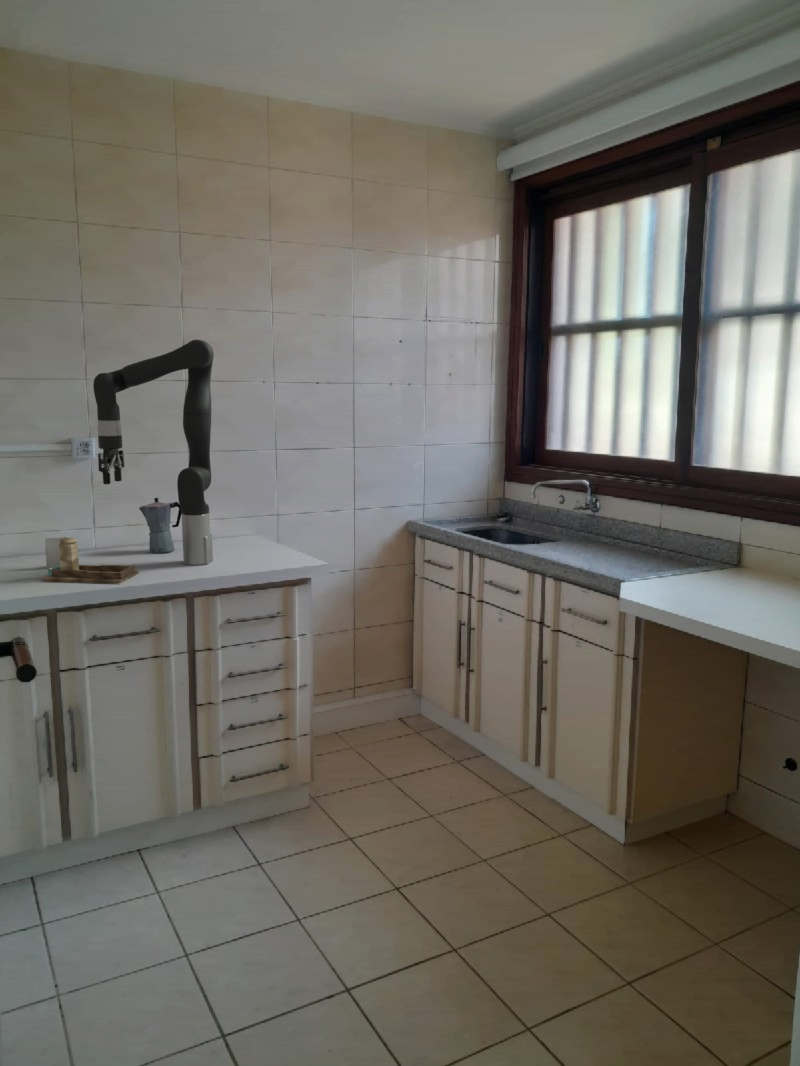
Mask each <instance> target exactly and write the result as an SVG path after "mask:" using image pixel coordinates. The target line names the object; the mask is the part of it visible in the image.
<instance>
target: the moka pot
mask: <svg viewBox="0 0 800 1066" xmlns="http://www.w3.org/2000/svg"><path fill="white" fill-rule="evenodd" d="M153 500H154V502H152V503H148V504H145V505H141V506H140V507H138V510H139V511H140V512H141V513H142V515H143V516H144V518H145V521H146V524H147V527H148V528H149V529H148V531H149V533H148V535H149V548H148V549H149V553H151V554H164V553H171V552H173V551H174V550H175V544H174V540H173V536H172V533H171V527H172V528H177V527H179V526H180V522H181V519H182V512H181V508H180V505H179V501H175V502H168V503H165V502H160V501H159V498H158V497H153ZM175 508H178V513H177V518H176V522H175V524H172V525H171V510H172V509H175Z"/></svg>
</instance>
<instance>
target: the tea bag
mask: <svg viewBox="0 0 800 1066" xmlns="http://www.w3.org/2000/svg"><path fill="white" fill-rule="evenodd" d="M63 538H68V537H67V536H63V537H62V536H61V537H49V538H45V539H44V541H45V545H44V546H45V548H44V549H45V562H46V568H47V569H48V570H49V568H54V567H56V566H58V565H60V553H59V544H60V539H63Z"/></svg>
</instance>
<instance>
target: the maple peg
mask: <svg viewBox="0 0 800 1066" xmlns="http://www.w3.org/2000/svg"><path fill="white" fill-rule="evenodd" d="M78 550H79V549H78V541H77V538H74V537H67V538H63V539H60V544H59V553H60V567H61V570H79V565H80V564H79V563H80V562H79V551H78Z"/></svg>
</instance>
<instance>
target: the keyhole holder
mask: <svg viewBox="0 0 800 1066" xmlns="http://www.w3.org/2000/svg"><path fill="white" fill-rule="evenodd" d="M139 572H140V571H139V570H138V569H137V570H136V565H127V564H125V565H121V564H99V565H96V564H95V565H93V564H92V565H91V564H89V565H88V564H86V565H85V564H79V570H61V567H60V565H58V566H56V567H54V568H52V569H48V570H47V576H44V577H43V578H42V582H43V581H49V582H48V583H73V582H79V583H78V584H81V583H82V584H107V583H121V582H123V581H124V582H126V581H127V580H126V579H128V578H130V577H131V578H133V577H134V575H135V576H137V575H138V574H139ZM136 574H137V575H136ZM132 576H133V577H132ZM131 578H130V579H131ZM125 580H126V581H125ZM128 580H129V579H128ZM124 582H123V583H124ZM121 584H122V583H121Z"/></svg>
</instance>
